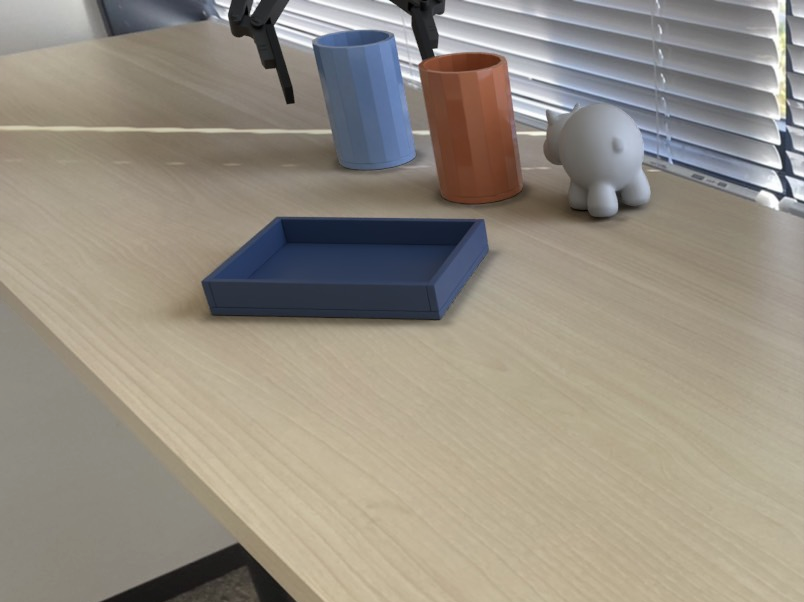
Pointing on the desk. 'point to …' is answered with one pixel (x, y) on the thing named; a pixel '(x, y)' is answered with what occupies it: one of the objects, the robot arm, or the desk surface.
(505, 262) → the desk surface
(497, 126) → the clay cup
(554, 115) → the round bodied animal figurine
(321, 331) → the desk surface
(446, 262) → the blue tray
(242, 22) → the robot arm
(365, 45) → the blue cup
